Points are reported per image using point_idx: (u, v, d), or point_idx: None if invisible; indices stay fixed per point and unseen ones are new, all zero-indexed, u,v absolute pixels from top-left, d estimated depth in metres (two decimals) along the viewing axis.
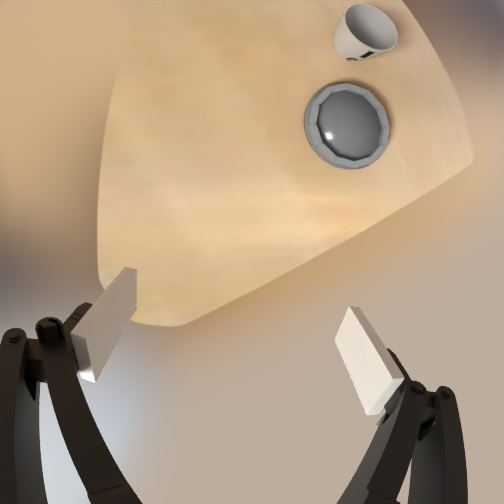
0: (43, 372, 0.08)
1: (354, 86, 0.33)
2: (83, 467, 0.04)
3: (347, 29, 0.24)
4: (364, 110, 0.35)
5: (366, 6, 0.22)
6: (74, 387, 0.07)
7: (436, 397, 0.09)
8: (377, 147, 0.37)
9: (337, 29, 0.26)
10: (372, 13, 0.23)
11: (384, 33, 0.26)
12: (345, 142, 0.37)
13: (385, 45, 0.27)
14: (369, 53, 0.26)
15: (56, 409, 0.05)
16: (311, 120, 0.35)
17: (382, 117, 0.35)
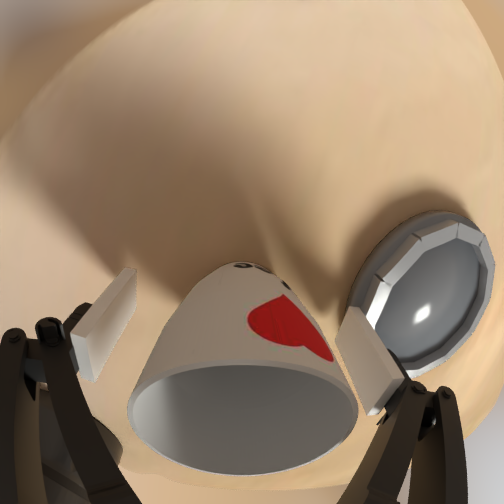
0: (43, 372, 0.08)
1: (369, 314, 0.15)
2: (83, 467, 0.04)
3: (278, 470, 0.09)
4: (414, 277, 0.16)
5: (141, 422, 0.08)
6: (73, 388, 0.07)
7: (436, 397, 0.09)
8: (478, 251, 0.15)
9: None
10: None
11: None
12: (453, 310, 0.17)
13: None
14: None
15: (56, 409, 0.05)
16: (412, 376, 0.18)
17: (440, 243, 0.14)
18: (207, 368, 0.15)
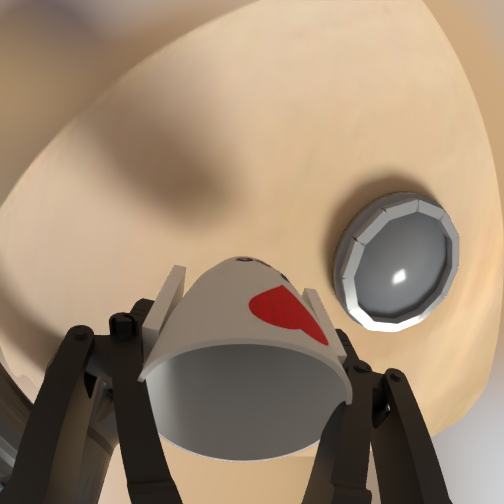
0: None
1: (349, 267, 0.22)
2: (130, 458, 0.05)
3: (276, 456, 0.10)
4: (385, 241, 0.22)
5: None
6: (139, 383, 0.08)
7: (385, 381, 0.10)
8: (441, 224, 0.21)
9: None
10: None
11: None
12: (424, 274, 0.23)
13: None
14: None
15: (116, 399, 0.07)
16: (392, 330, 0.24)
17: (403, 214, 0.20)
18: (209, 358, 0.15)
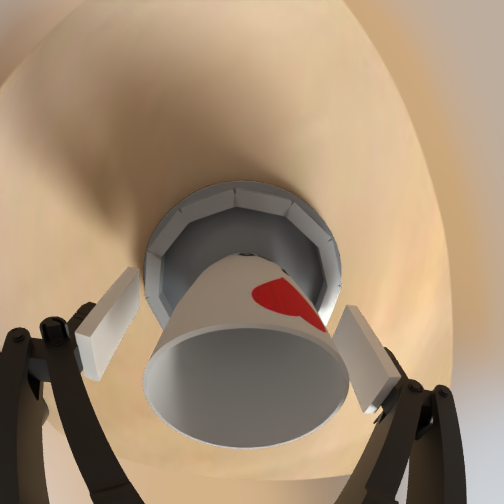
0: (47, 371, 0.08)
1: (148, 284, 0.17)
2: (86, 466, 0.04)
3: (277, 443, 0.11)
4: (200, 251, 0.18)
5: (154, 393, 0.10)
6: (77, 387, 0.07)
7: (433, 396, 0.09)
8: None
9: None
10: None
11: None
12: None
13: None
14: None
15: (59, 408, 0.06)
16: None
17: (210, 213, 0.16)
18: (212, 350, 0.16)
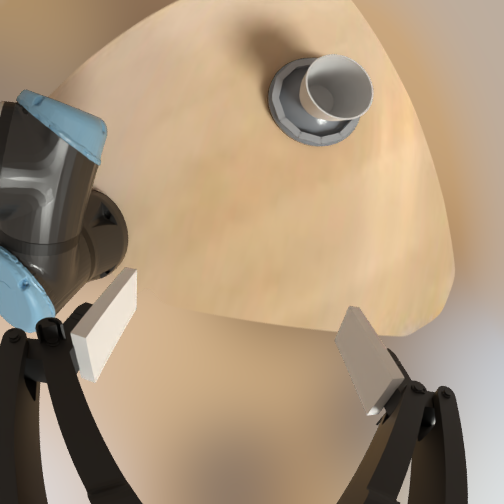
0: (43, 372, 0.08)
1: (274, 91, 0.33)
2: (83, 467, 0.04)
3: (353, 118, 0.26)
4: (298, 82, 0.33)
5: (306, 83, 0.25)
6: (74, 387, 0.07)
7: (436, 397, 0.09)
8: None
9: (332, 120, 0.29)
10: None
11: (325, 64, 0.26)
12: None
13: (341, 68, 0.26)
14: None
15: (56, 409, 0.05)
16: (318, 141, 0.35)
17: (305, 64, 0.31)
18: (310, 112, 0.31)
